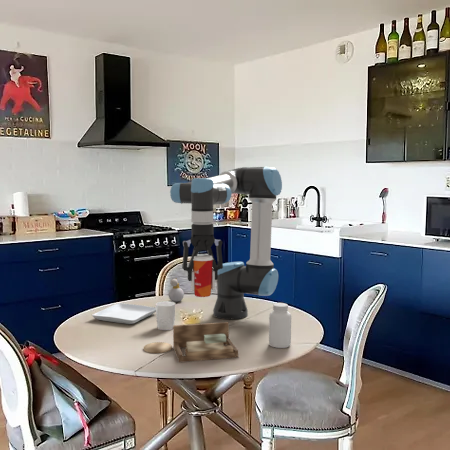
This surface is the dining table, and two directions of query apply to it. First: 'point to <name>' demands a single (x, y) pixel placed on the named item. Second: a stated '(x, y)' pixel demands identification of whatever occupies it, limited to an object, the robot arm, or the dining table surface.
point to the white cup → (165, 315)
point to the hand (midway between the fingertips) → (202, 289)
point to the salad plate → (124, 313)
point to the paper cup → (202, 275)
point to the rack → (203, 342)
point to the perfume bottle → (175, 291)
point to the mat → (157, 347)
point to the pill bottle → (280, 326)
